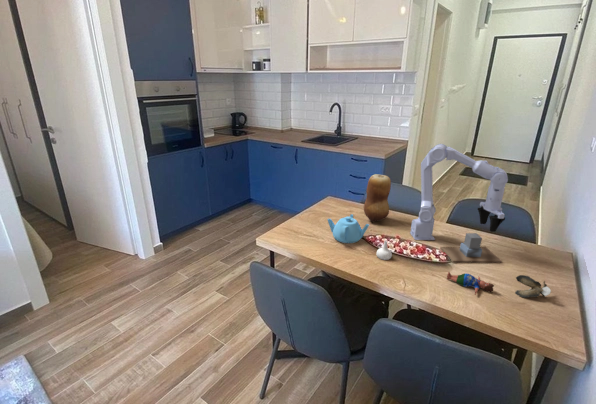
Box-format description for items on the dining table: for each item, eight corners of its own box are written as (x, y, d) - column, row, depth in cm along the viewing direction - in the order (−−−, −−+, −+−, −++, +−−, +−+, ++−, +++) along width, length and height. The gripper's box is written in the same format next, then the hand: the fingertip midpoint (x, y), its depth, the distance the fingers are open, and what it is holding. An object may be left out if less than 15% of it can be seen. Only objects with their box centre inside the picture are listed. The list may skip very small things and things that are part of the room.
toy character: (451, 261, 123) (496, 273, 115) (449, 272, 125) (493, 284, 117) (445, 277, 113) (493, 291, 105) (443, 288, 115) (491, 302, 107)
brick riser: (452, 262, 130) (454, 253, 129) (440, 248, 141) (441, 239, 140) (501, 262, 130) (503, 253, 129) (485, 248, 141) (487, 239, 140)
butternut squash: (390, 225, 165) (395, 179, 156) (364, 225, 165) (368, 179, 156) (384, 215, 178) (388, 171, 169) (360, 215, 178) (363, 171, 169)
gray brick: (469, 248, 132) (471, 237, 130) (463, 243, 136) (466, 233, 135) (479, 248, 132) (482, 237, 130) (474, 243, 136) (476, 233, 135)
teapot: (325, 234, 156) (325, 213, 152) (351, 228, 161) (352, 209, 158) (341, 247, 143) (342, 226, 139) (369, 241, 148) (370, 220, 144)
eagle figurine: (537, 284, 114) (511, 278, 115) (551, 277, 108) (523, 270, 109) (541, 305, 110) (514, 298, 111) (556, 298, 104) (527, 291, 105)
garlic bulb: (375, 260, 134) (376, 244, 130) (377, 252, 139) (378, 236, 135) (390, 262, 131) (392, 246, 128) (392, 254, 137) (393, 238, 133)
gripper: (514, 204, 126) (507, 234, 131) (493, 192, 140) (487, 220, 145) (497, 204, 126) (490, 234, 131) (477, 192, 140) (472, 220, 145)
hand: (487, 227), depth 138 cm, fingers open, 7 cm apart
